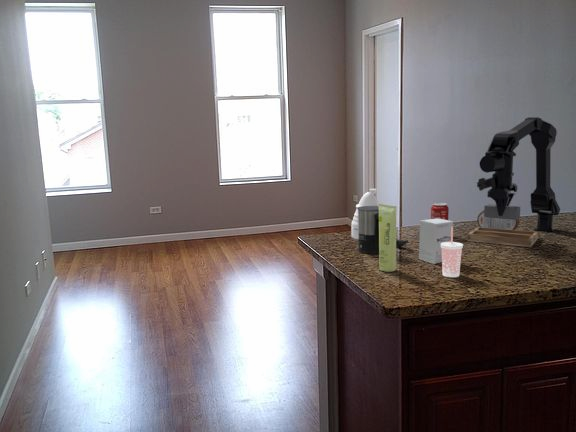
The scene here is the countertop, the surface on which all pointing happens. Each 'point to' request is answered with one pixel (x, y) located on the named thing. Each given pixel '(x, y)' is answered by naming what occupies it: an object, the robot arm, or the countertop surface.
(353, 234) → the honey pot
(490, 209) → the bar
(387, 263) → the tube
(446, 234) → the supplement box
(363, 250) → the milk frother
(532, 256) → the countertop surface
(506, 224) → the tin
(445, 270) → the beverage cup
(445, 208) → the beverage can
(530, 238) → the divided wooden tray
